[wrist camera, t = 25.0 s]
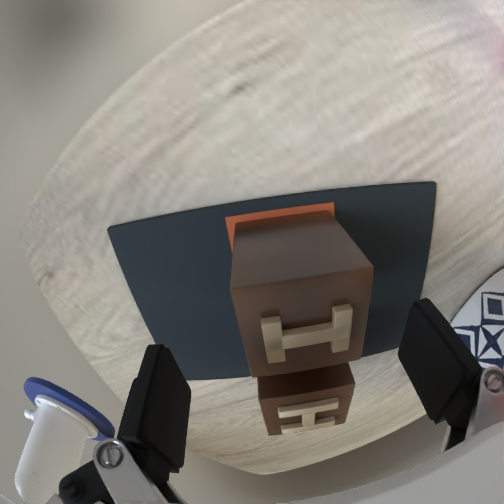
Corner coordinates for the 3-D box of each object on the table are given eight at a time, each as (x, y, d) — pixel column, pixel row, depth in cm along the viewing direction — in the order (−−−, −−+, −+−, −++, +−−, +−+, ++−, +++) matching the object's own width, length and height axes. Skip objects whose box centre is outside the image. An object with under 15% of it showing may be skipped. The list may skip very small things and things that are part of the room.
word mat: (177, 377, 21) (176, 381, 20) (109, 226, 15) (105, 229, 14) (404, 342, 20) (406, 346, 20) (432, 181, 14) (437, 183, 13)
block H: (263, 368, 20) (268, 441, 14) (254, 322, 17) (258, 406, 12) (327, 358, 19) (346, 427, 14) (329, 311, 17) (357, 389, 11)
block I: (249, 298, 16) (252, 385, 11) (234, 222, 14) (228, 296, 9) (329, 286, 16) (363, 365, 11) (328, 209, 14) (379, 272, 8)
